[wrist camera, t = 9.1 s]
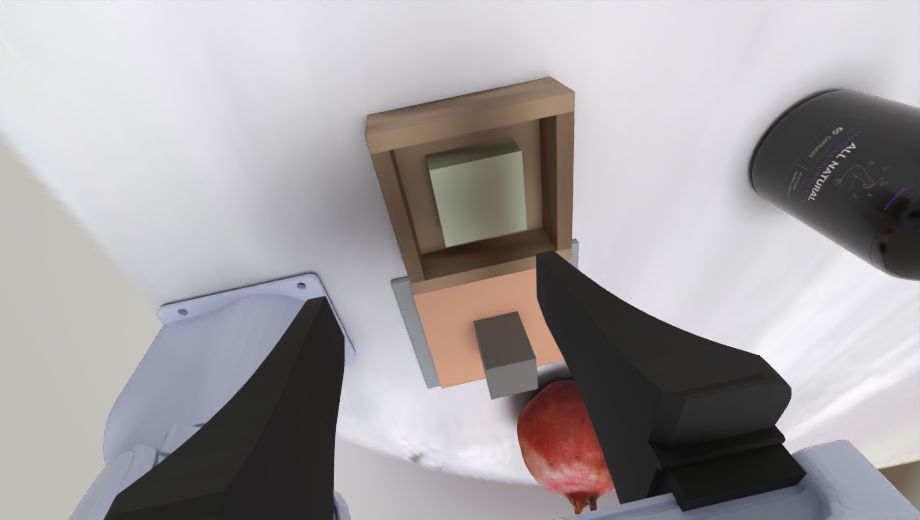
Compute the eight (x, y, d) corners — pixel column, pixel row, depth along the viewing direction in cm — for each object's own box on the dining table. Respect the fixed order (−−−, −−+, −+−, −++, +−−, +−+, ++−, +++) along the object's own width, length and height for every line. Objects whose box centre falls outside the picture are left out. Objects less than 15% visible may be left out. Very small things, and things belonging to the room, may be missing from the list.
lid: (440, 377, 30) (448, 438, 26) (412, 284, 25) (417, 345, 21) (560, 350, 31) (586, 406, 27) (560, 252, 25) (594, 305, 21)
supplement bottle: (746, 123, 22) (1023, 238, 13) (872, 64, 21) (1275, 139, 12) (744, 216, 26) (953, 357, 17) (850, 170, 25) (1136, 290, 16)
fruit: (616, 354, 33) (691, 476, 25) (592, 419, 38) (646, 535, 30) (510, 366, 32) (553, 499, 24) (501, 432, 37) (533, 556, 29)
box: (410, 262, 24) (413, 294, 22) (367, 115, 19) (364, 136, 16) (553, 231, 24) (571, 259, 22) (550, 77, 19) (574, 91, 17)
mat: (427, 384, 31) (427, 388, 31) (391, 280, 25) (391, 284, 24) (573, 350, 32) (575, 354, 31) (576, 239, 25) (578, 242, 25)
